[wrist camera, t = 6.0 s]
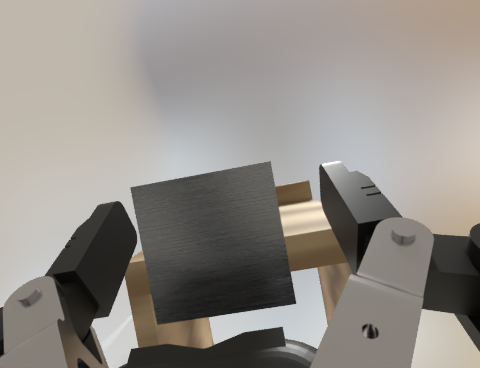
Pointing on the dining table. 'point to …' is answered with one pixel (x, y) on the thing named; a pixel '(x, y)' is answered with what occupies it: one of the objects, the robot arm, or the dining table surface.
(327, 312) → the shelf stand
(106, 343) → the dining table surface
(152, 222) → the bar
